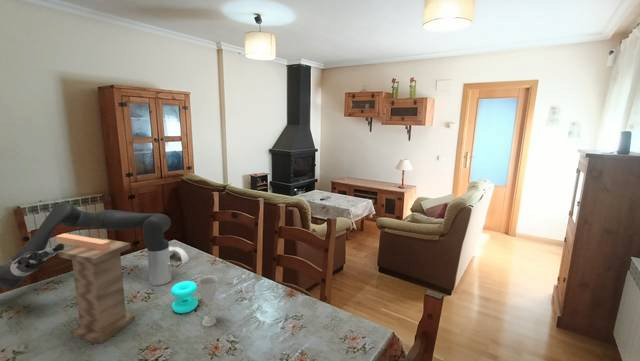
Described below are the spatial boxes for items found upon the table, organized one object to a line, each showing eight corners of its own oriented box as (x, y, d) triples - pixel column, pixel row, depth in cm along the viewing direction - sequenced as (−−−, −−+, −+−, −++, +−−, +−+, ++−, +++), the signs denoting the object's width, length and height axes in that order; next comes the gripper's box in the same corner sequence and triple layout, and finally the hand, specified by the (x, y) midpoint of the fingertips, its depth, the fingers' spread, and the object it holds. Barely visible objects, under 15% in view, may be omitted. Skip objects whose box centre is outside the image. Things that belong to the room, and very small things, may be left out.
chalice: (222, 319, 122) (221, 277, 119) (211, 329, 116) (209, 285, 113) (207, 314, 125) (205, 273, 121) (195, 325, 118) (193, 282, 115)
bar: (56, 242, 113) (55, 235, 112) (65, 239, 116) (64, 233, 115) (102, 250, 107) (101, 244, 106) (110, 247, 110) (109, 240, 109)
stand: (69, 334, 111) (58, 251, 105) (105, 312, 124) (97, 237, 118) (103, 344, 107) (93, 258, 101) (137, 320, 120) (130, 243, 114)
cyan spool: (165, 288, 125) (185, 277, 134) (166, 310, 127) (186, 298, 136) (182, 294, 121) (202, 283, 130) (184, 317, 123) (203, 304, 132)
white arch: (147, 258, 174) (146, 246, 173) (165, 250, 185) (164, 239, 183) (178, 267, 165) (177, 254, 164) (194, 258, 176) (194, 246, 174)
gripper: (0, 263, 115) (23, 247, 110) (43, 248, 129) (65, 234, 123) (10, 280, 115) (33, 266, 110) (52, 264, 129) (74, 250, 123)
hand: (50, 249), depth 117 cm, fingers open, 8 cm apart
